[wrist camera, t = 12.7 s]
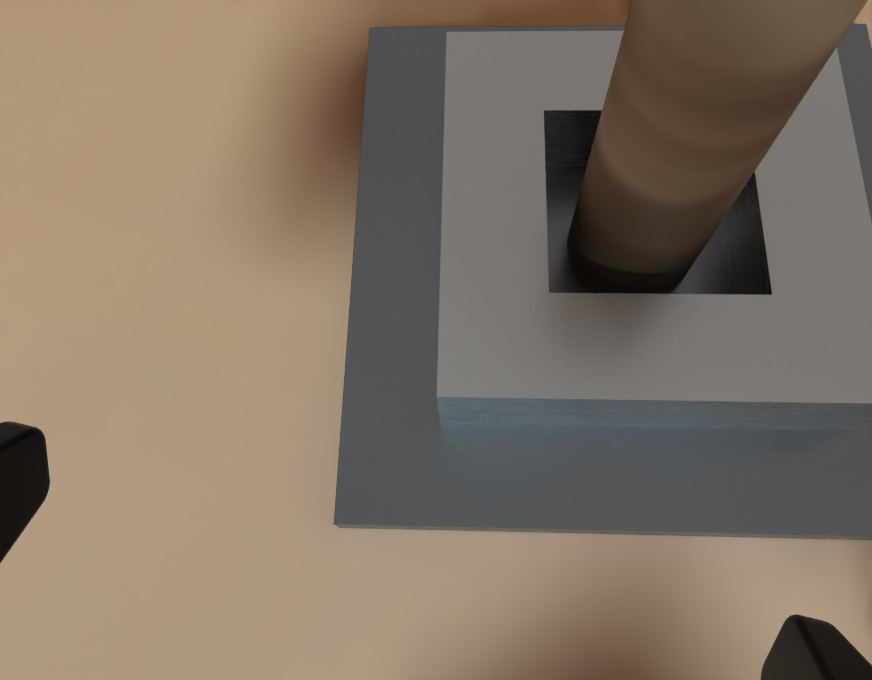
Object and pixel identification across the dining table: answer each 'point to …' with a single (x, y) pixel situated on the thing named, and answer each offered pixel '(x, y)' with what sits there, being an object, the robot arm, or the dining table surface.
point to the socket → (598, 311)
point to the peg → (690, 128)
